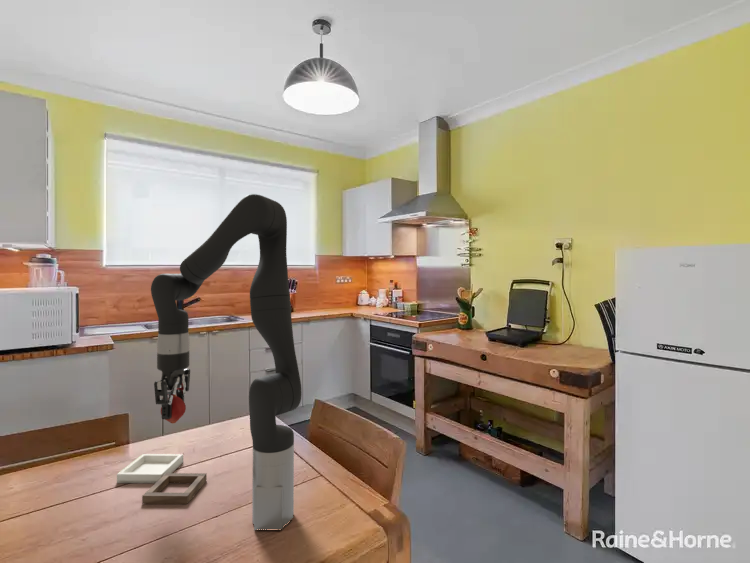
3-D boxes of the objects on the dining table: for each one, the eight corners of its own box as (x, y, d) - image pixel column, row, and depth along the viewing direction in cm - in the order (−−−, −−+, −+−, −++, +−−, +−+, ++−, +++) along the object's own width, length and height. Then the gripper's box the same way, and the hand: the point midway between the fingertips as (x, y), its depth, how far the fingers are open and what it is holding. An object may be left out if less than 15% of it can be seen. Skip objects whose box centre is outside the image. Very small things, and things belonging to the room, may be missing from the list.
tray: (161, 483, 105) (161, 474, 105) (116, 483, 105) (116, 474, 105) (183, 462, 117) (183, 454, 117) (143, 461, 117) (143, 453, 117)
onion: (155, 424, 101) (155, 394, 100) (176, 417, 106) (176, 388, 106) (170, 429, 98) (170, 397, 98) (190, 421, 103) (190, 391, 103)
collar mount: (187, 504, 95) (187, 496, 95) (142, 503, 95) (142, 495, 95) (206, 480, 106) (206, 473, 106) (166, 480, 106) (166, 473, 106)
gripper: (173, 356, 94) (173, 425, 95) (200, 345, 109) (199, 405, 109) (142, 355, 94) (142, 424, 95) (173, 345, 109) (173, 405, 109)
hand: (173, 414), depth 102 cm, fingers closed on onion, 6 cm apart
